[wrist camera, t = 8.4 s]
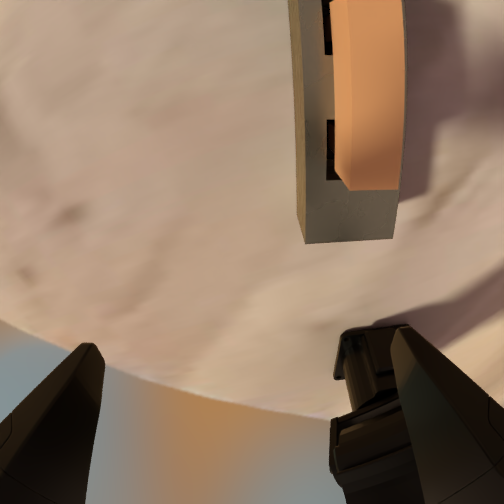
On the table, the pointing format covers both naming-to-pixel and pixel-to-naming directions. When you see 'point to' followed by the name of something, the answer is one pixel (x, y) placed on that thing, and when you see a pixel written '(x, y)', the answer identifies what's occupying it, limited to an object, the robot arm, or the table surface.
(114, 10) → the table surface
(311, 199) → the rail
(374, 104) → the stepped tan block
